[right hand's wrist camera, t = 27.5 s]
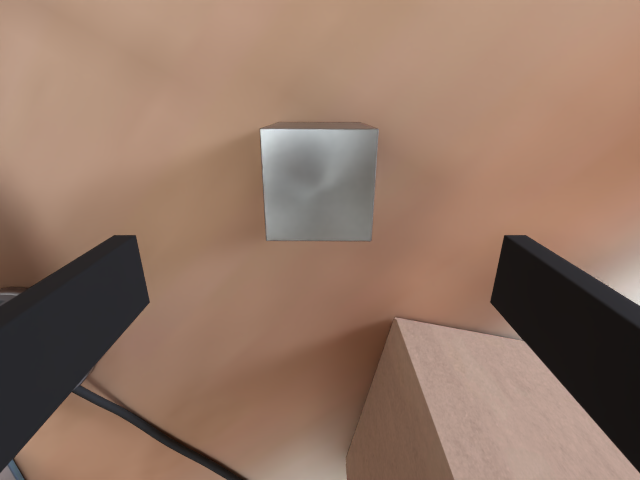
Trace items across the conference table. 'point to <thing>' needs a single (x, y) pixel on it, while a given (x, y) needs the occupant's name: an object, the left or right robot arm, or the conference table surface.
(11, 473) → the book
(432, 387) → the box
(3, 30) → the conference table surface
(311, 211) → the block
